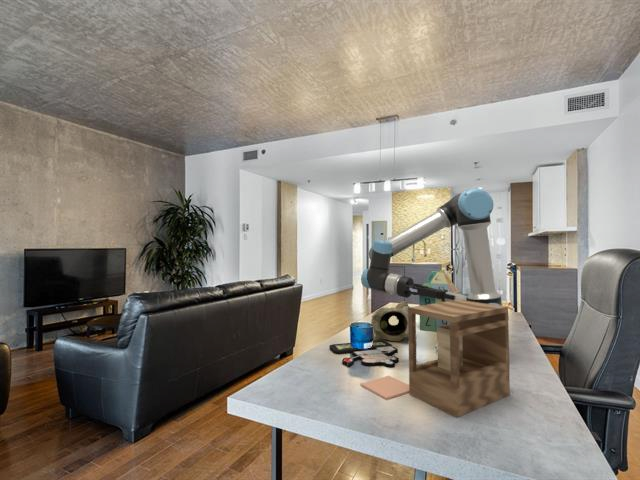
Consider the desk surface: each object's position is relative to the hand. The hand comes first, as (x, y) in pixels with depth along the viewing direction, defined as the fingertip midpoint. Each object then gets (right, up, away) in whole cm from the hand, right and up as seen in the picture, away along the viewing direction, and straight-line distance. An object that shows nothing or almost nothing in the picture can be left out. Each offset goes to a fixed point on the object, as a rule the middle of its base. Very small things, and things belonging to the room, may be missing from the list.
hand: (465, 300), depth 114 cm
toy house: (+13, -26, +64) cm, 71 cm away
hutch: (-7, -25, -13) cm, 29 cm away
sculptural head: (-14, -27, +49) cm, 57 cm away
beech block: (-9, -18, -10) cm, 23 cm away
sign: (-28, -27, +23) cm, 45 cm away
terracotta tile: (-27, -26, -8) cm, 38 cm away
